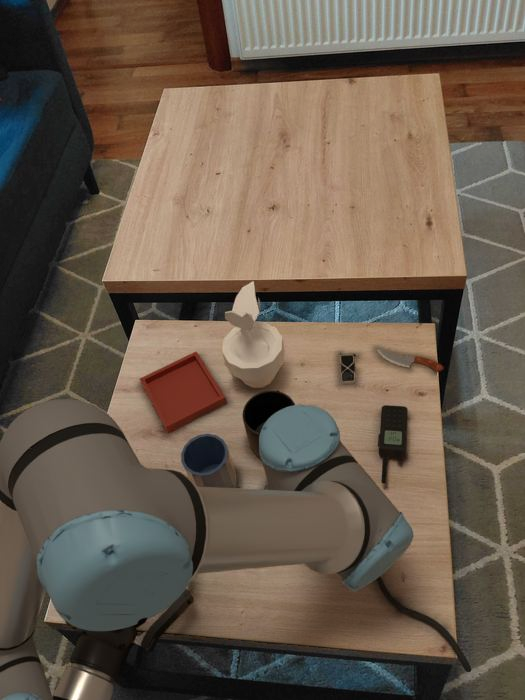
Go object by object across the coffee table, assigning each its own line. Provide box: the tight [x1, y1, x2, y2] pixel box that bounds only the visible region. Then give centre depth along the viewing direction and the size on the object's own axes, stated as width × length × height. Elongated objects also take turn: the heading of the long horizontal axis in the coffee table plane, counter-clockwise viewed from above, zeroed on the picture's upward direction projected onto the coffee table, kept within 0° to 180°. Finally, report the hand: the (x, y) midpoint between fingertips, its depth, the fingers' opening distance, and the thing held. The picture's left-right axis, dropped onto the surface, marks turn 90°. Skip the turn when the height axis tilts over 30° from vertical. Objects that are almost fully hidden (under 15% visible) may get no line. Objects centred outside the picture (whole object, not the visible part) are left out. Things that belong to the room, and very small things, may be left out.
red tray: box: [139, 351, 228, 434], centre depth 127 cm, size 14×13×2 cm
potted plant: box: [221, 280, 285, 389], centre depth 119 cm, size 13×12×25 cm
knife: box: [377, 349, 445, 373], centre depth 126 cm, size 13×1×3 cm
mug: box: [241, 389, 296, 459], centre depth 116 cm, size 9×12×9 cm
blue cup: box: [180, 433, 238, 488], centre depth 111 cm, size 8×8×10 cm
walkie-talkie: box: [377, 404, 408, 485], centre depth 113 cm, size 5×3×15 cm
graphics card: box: [339, 352, 357, 385], centre depth 126 cm, size 7×1×3 cm
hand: (151, 533), depth 104 cm, fingers open, 13 cm apart
